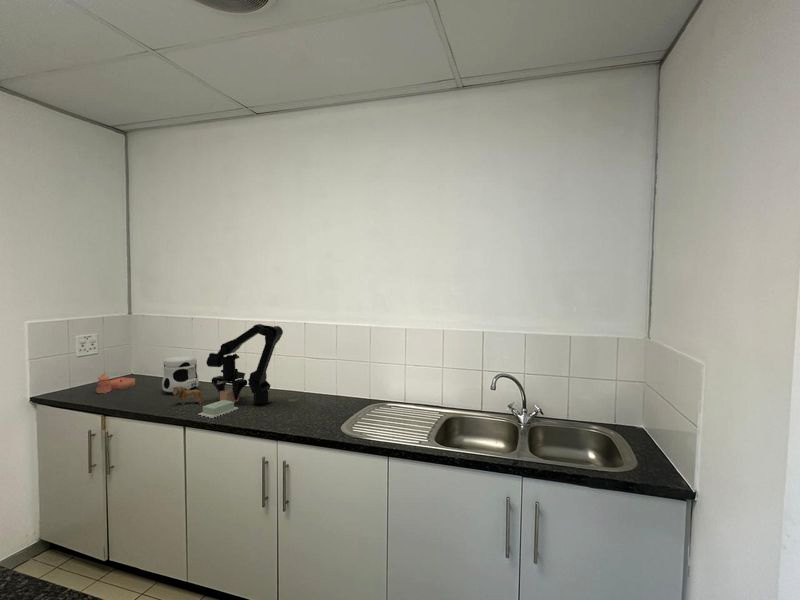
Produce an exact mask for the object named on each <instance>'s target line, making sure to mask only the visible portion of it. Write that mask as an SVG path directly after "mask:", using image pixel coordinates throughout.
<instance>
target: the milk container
mask: <svg viewBox="0 0 800 600" xmlns="http://www.w3.org/2000/svg"><path fill="white" fill-rule="evenodd" d="M197 366H198V365H197V357H196V355H195V356H194V355H177V356H169V357H166V358H164V360H163V377H162V380H161V388H162V390H163V391H164V392H165V393H167V394H173V388H174V387H176V386H181V387H183V388H186V389H187V390H197V388H198V386H199V376H198V374H197V373H198V372H197Z"/></svg>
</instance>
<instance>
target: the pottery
mask: <svg viewBox="0 0 800 600" xmlns="http://www.w3.org/2000/svg"><path fill="white" fill-rule="evenodd" d="M97 380H98V381H97V387H96V388H95V391H96V393H104V394H108V393H107V392H109V393H111V392H112V390H116V389H120V390H119V391H121V389H122V390H125V389H129V388H132V387H135V386H136V378H134V377H133V378H132V377H118V378H114V379H111V380H110V376H108V375H106V373H102V374H101V376H100V375H99V376H98V378H97ZM134 385H135V386H134ZM131 386H132V387H131ZM128 387H129V388H128ZM124 388H125V389H124ZM110 391H111V392H110Z"/></svg>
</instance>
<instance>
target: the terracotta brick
mask: <svg viewBox="0 0 800 600" xmlns="http://www.w3.org/2000/svg"><path fill="white" fill-rule="evenodd" d="M239 396H240V395H239ZM239 396H238V399H237V400H235V398H234V394H233V390H232V387H230V388H227V389H225V390H223V391H220V394H219V401H221V400H227V401H232V402H234V403H237V402H239V400H240V397H239ZM236 401H237V402H236Z"/></svg>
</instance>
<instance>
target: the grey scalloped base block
mask: <svg viewBox="0 0 800 600" xmlns="http://www.w3.org/2000/svg"><path fill="white" fill-rule="evenodd" d="M237 409H239V407H237V406H235V402H232V401H227V400H221V401H220V400H219V401H215V402H213V403H212V402H211V403H209V404H206V405H203V406H202V411H201V412H200V413H198V415H201V416H200V417H203V416H205V417H204V418H207V417H209V419H212V418H213V419H215V418H214V417H216V418H218V417H220V415H221V416H224V415H226V413H227V414H229V413H231V411H232V412H235V411H237ZM234 410H235V411H234ZM223 414H224V415H223ZM217 416H218V417H217Z"/></svg>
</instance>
